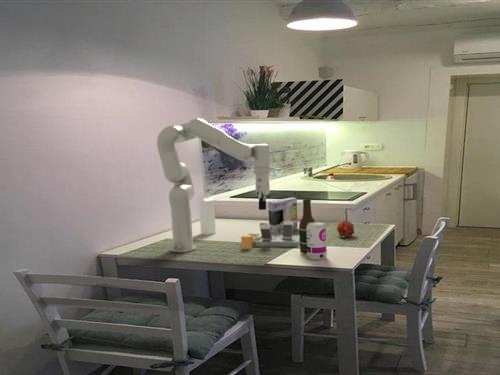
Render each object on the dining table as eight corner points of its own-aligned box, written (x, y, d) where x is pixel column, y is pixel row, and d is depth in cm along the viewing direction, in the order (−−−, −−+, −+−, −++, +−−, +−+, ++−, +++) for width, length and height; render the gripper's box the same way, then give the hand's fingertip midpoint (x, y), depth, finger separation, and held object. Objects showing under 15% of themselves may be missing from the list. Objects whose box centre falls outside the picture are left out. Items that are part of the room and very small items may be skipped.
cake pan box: (273, 234, 252) (272, 202, 250) (267, 233, 256) (265, 201, 254) (298, 228, 264) (297, 197, 262) (292, 227, 268) (291, 197, 266)
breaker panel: (298, 247, 221) (297, 239, 221) (241, 246, 228) (240, 238, 228) (302, 240, 235) (302, 232, 234) (248, 239, 242) (248, 232, 241)
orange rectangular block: (250, 249, 222) (250, 236, 221) (241, 249, 223) (241, 236, 222) (253, 247, 226) (252, 234, 225) (244, 246, 227) (243, 234, 226)
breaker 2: (291, 238, 225) (293, 221, 230) (281, 238, 227) (283, 221, 231) (292, 240, 227) (293, 223, 232) (282, 240, 228) (284, 223, 233)
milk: (215, 233, 262) (214, 194, 259) (207, 235, 258) (205, 195, 255) (209, 231, 266) (207, 193, 264) (200, 233, 262) (198, 194, 260)
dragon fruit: (348, 236, 245) (346, 245, 234) (334, 227, 246) (332, 235, 235) (357, 224, 242) (356, 232, 231) (344, 215, 243) (341, 222, 232)
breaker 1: (271, 240, 229) (268, 225, 223) (262, 240, 230) (259, 225, 224) (272, 237, 230) (269, 223, 225) (262, 237, 231) (259, 222, 226)
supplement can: (330, 257, 201) (329, 222, 200) (319, 261, 195) (318, 226, 194) (314, 254, 207) (313, 221, 205) (303, 258, 201) (302, 224, 199)
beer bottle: (315, 249, 216) (313, 197, 213) (318, 253, 208) (316, 200, 206) (298, 250, 216) (297, 198, 213) (301, 254, 208) (299, 201, 205)
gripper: (266, 171, 210) (267, 212, 212) (272, 169, 224) (273, 207, 226) (250, 171, 212) (251, 211, 214) (257, 169, 226) (258, 206, 228)
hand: (262, 209), depth 220 cm, fingers closed
